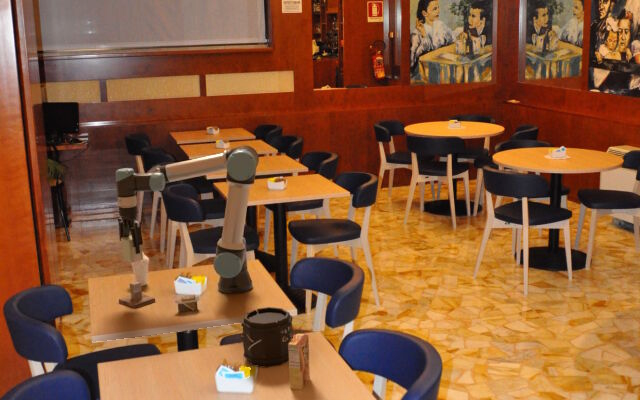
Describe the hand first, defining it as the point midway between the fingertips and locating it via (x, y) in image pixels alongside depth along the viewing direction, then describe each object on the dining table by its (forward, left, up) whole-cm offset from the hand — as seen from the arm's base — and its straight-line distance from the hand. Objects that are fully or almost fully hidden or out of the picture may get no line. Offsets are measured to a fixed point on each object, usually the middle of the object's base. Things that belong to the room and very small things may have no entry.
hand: (132, 259), depth 333 cm
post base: (0, 0, -19) cm, 19 cm away
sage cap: (0, 0, 0) cm, 0 cm away
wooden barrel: (-86, +5, -19) cm, 88 cm away
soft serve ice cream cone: (+18, -15, -19) cm, 30 cm away
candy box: (-109, +13, -19) cm, 112 cm away
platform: (-27, -7, -20) cm, 34 cm away
